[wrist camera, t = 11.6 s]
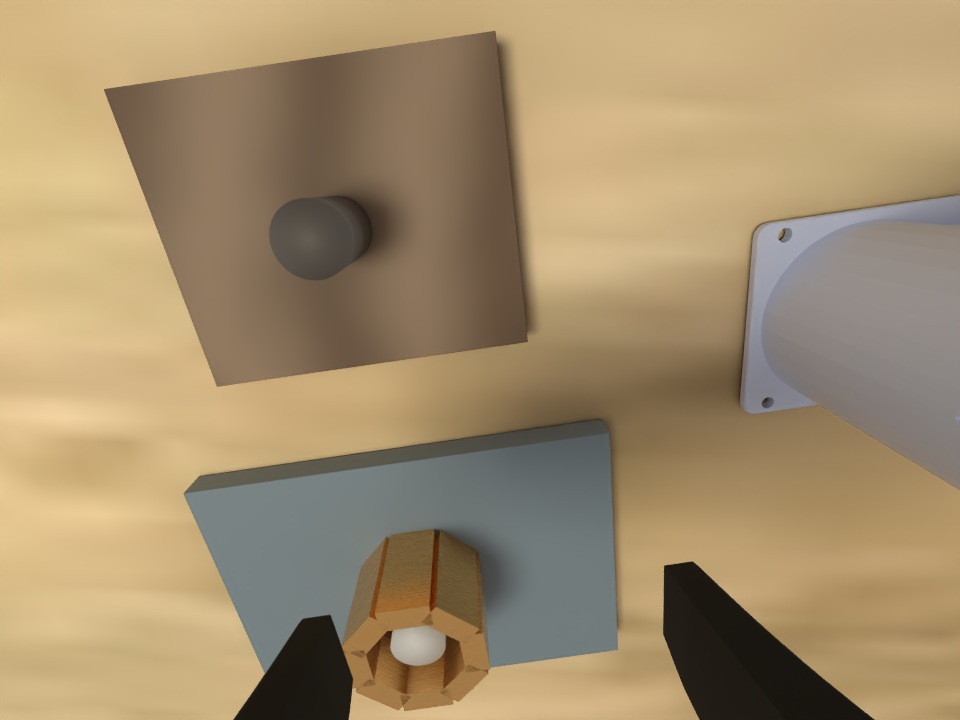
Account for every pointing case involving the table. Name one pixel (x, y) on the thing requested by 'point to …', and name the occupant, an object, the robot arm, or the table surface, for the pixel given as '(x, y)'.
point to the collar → (418, 620)
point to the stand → (334, 206)
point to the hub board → (421, 506)
